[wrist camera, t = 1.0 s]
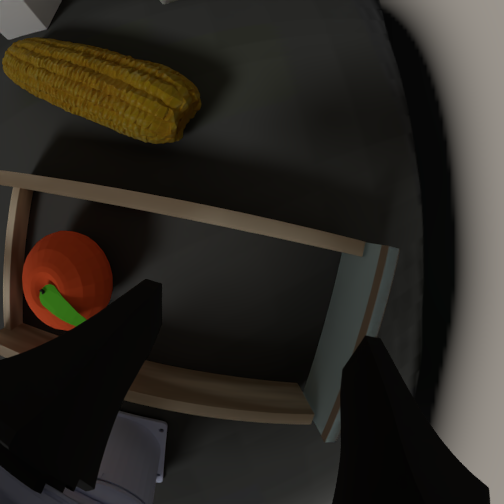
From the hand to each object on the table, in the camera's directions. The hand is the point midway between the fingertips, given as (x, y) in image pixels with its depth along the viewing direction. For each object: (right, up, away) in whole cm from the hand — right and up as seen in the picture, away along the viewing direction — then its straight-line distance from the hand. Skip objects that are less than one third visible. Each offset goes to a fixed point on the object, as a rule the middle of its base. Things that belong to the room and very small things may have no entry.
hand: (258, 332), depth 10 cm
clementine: (-13, +1, +12) cm, 17 cm away
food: (-14, +16, +10) cm, 24 cm away
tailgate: (+5, -3, +13) cm, 15 cm away
